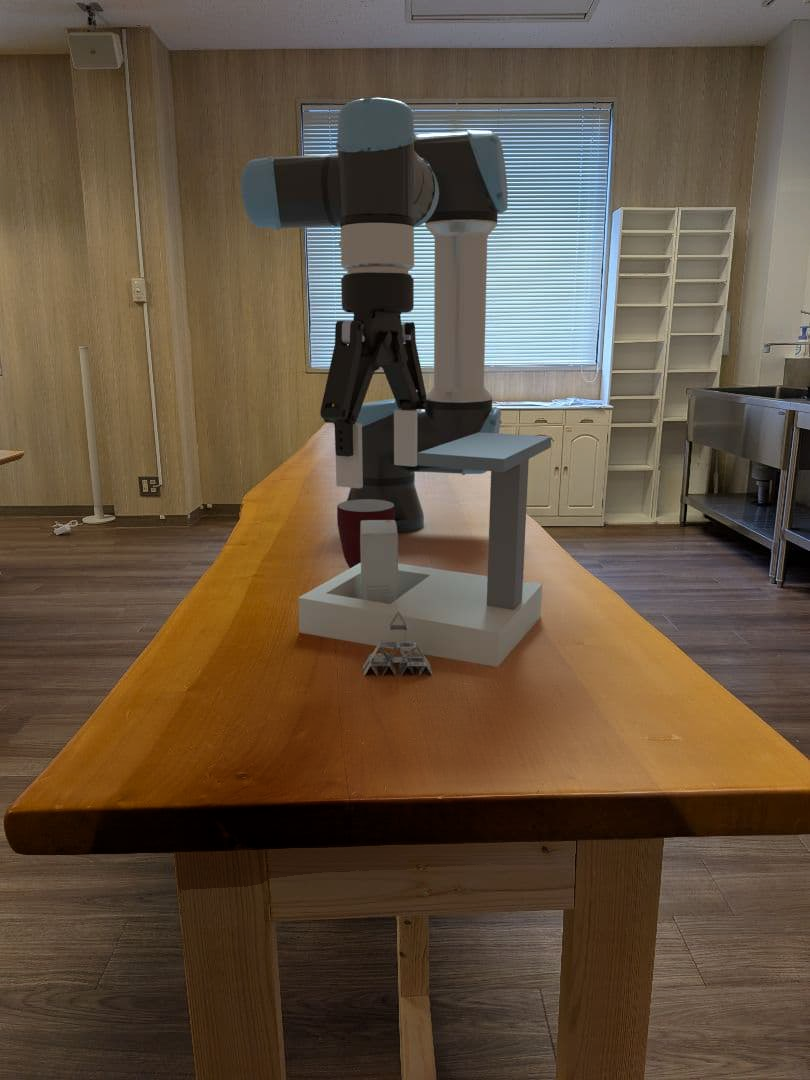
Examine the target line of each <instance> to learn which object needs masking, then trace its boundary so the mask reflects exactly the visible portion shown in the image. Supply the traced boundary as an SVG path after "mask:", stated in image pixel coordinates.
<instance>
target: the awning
mask: <svg viewBox="0 0 810 1080" xmlns="http://www.w3.org/2000/svg"><path fill="white" fill-rule="evenodd" d="M551 447H552V436H549V435H531V434H530V435H529V434H514V433H513V434H512V433H511V434H510V433H499V434H497V433H480V432H478V433H475V434H472V435H469V436H466V437H463V438H460V439H457V440H454V441H451V442H448V443H445V444H442V445H439V446H436V447H433V448H430V449H427V450H424V451H421V452H418V465H420V466H432V467H445V468H457V469H469V470H482V471H487V472H490V487H489V488H490V491H489V492H490V494H489V496H490V497H489V519H488V521H489V523H488V554H487V555H488V556H487V557H488V558H487V576H488V579H487V606H491V607H498V608H504V609H510V610H514V609H515V608H516V607H517V606H518V605H519V604H520V603H521V602H522V591H523V581H524V569H525V568H524V566H525V565H524V563H525V547H526V542H525V541H526V523H527V522H526V521H527V505H528V504H527V503H528V481H529V460H530V459H531V458H533V457H536V456H537V455H539V454H540V453H543V452H545V451H547V450H549V449H551Z"/></svg>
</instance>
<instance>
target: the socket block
mask: <svg viewBox="0 0 810 1080" xmlns="http://www.w3.org/2000/svg"><path fill="white" fill-rule="evenodd" d="M487 579H488V575H481V574H474V573H467V572H460V571H455V570H447V569H446V570H445V569H440V568H433V567H426V566H419V565H411V564H404V563H399V562H398V599H397V600H395V601H394V602H392V603H391V604H386V603H380V602H374V601H368V600H362V594H361V563H359V564H357V565H355V566H354V567H352V568H348V569H347V570H345V571H343V572H341V573H339V574H338V575H335V576H334V577H332V578H330V579H329V580H327V581H326V582H324V583H322V584H320V585H318V586H316V587H315V588H313V589H311V590H309V591H308V592H305V593H304V594H302V595H300V596H298V597H297V599H298V602H297V603H298V605H297V606H298V619H299V620H298V623H299V624H298V625H299V626H298V627H299V629H298V630H299V634H305V635H312V636H318V637H323V638H330V639H334V640H339V641H345V642H351V643H357V644H358V643H359V644H363V645H369V646H373V647H375V646H376V647H377V645H378V644H379V642H416V644H417V646H418V647H419V649H420V651H421V652H422V654H424V655H425V656H426V655H427V656H431V657H432V656H433V657H438V658H442V659H450V660H455V661H462V662H466V663H473V664H480V665H485V666H491V667H496V668H497V667H499V666H500V665H501V664H502V662H503V661H504V660H505V659H506V658H507V657H508V656H509V654H510V653H511V652H512V651H513V650H514V649H515V648H516V646H517V645H518V644H519V643H520V642H521V641H522V639H523V638H524V637H525V636H526V635H527V634H528V633H529V631H530V630H531V629H532V628H533V626H534V625H536V623H537V621H539V619H541V615H542V595H543V593H542V592H543V583H538V582H530V581H524V580H523V591H522V602H521V603H520V604H519V605H518V606H517V607H516V608H515V609H514V610H510V609H504V608H498V607H491V606H487ZM398 611H399V612H400V614H401V616H402V617H403V619H404V621H405V622H406V624H407V625H408V630H389V625H390V623H391V621H392V620H393V618H394V617H395V615H396V613H397V612H398ZM393 625H404V623H403V622H402V620H401V619H400V617H399V615H398V617H397V618H396V620H395V622H394V623H393ZM384 648H386V649H391V650H392V649H393V648H394V647H384ZM411 649H412V648H402V650H403V651H404V652H408V653H409V652H410V650H411ZM397 651H399V649H397ZM413 654H419V652H418V650H417V649H415V650H414V652H413Z"/></svg>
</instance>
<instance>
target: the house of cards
mask: <svg viewBox="0 0 810 1080" xmlns="http://www.w3.org/2000/svg"><path fill="white" fill-rule="evenodd" d="M398 615H399V617H400V619H401V620H402V622H403V623H404V625H393V623H394V622H395V620H396V618H397V617H398ZM389 630H408V625H407V624H406V622H405V621H404V619H403V617H402V616H401V614H400V612H399V611H398V612H397V613H396V615H395V617H394V618H393V620H392V621H391V623H390V625H389ZM385 647H394V648H393V649H391V650H390V652H389V653H387V652H386V650H385V649H384V648H385ZM402 648H412V649H411V650H410V652H409V651H408V653H405V651H403V650H402ZM397 649H399V650H397ZM415 649H417V650H418V652H419V653H414V650H415ZM378 650H380V651H381V653H378V652H377V651H378ZM397 651H399V653H400V655H402V656H395V654H396V652H397ZM396 663H399V665H398V667H399V673H400V677H402V676H403V674H404V672H405V671H406V670H407V668H408V669H409V670H410V672H411V674H412V676H413V677H414V676H415V671H414V669H413V667H417V669H418V675H419V677H420V676H421V674H422V673H423V671H424V670H425V668H427V670H428V671H429V673H430V675H431V676H433V670H432V668H431V664H430V662H429V660H428V659H427V657H426V654H422V652H421V651H420V649H419V647H418V646H417V644H416V642H379V644H378V645H377V646H376V647H375V649H374V650H373V652H372V653H370V654H369V655H368V657H367V659H366V660H365V662H364V663H363V666H362V667H363V668H362V669H363V670H364V671H363V670H362V671H363V676H366V674H367V673H368V670H369V669H370V667H371V669H372V670H373V672H374V673H375V675H376V676H378V666H380V668H381V669H380V670H382V671H381V673H382V677H383V676H384V674H385V673H386V672H387V670H388V668H389V667H390V669H391V671H392V673H393V674H394V676H396V672H397V671H396Z"/></svg>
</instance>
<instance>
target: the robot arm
mask: <svg viewBox="0 0 810 1080" xmlns="http://www.w3.org/2000/svg"><path fill="white" fill-rule="evenodd" d="M337 118H338V119H337V139H336V140H337V141H336V143H335V147H336V151H337V153H324V154H309V155H293V156H292V155H291V156H290V155H289V156H276V157H274V156H267V157H265V158H256V159H254V158H253V159H251V160H249V161H248V162H247V163H246V164H245V165H244V167H243V170H242V173H241V179H240V191H241V199H242V205H243V208H244V210H245V213H246V216H247V218H248V219H249V221H250V222H251V223H252V224H253V225H254V226H255V227H257V228H259V229H277V231H278V230H280V231H281V230H282V229H296V228H297V229H299V228H300V229H301V228H318V227H319V228H322V227H340V241H339V244H338V245H339V248H340V259H341V260H340V261H341V262H340V263H341V264H340V267H341V268H342V269H344V270H346V272H347V273H346V274H343V275H342V278H340V283H341V285H340V286H341V308H342V311H344V312H345V313H350V314H351V313H352V315H353V317H352V320H336V322H335V326H334V327H335V329H334V332H335V333H334V335H335V336H334V347H333V351H332V355H331V356H332V357H331V361H330V365H329V370H328V374H327V378H326V384H325V388H324V393H323V398H322V402H321V406H320V410H319V411H320V412H319V414H320V417H321V418H322V419H323V421H324V423H327V424H333V425H334V449H335V450H334V453H335V478H336V480H335V482H336V484H335V485H336V487H339V488H340V487H341V488H349V489H350V490H349V492H348V495H347V500H346V501H350V500H359V499H376V500H384V501H389V502H391V503H393V504H394V505H395V521H396V525H397V532H398V535H401V534H408V533H413V532H417V531H419V530H421V529H423V528H424V526H425V523H424V522H425V521H424V520H425V519H424V518H425V515H424V511H423V510H424V509H423V508H422V504H421V501H420V498H419V495H418V492H417V488H416V484H415V481H416V480H415V475H416V474H415V473H437V474H438V473H439V474H461V476H465V475H480V474H485V473H487V472H488V471H482V470H469V469H457V468H445V467H432V466H420V465H418V452H421V451H424V450H427V449H430V448H433V447H436V446H439V445H442V444H445V443H448V442H451V441H454V440H457V439H460V438H463V437H466V436H469V435H472V434H475V433H478V432H480V433H497V434H500V429H501V416H502V410H501V409H500V408H499V407H497V406H493V395H492V394H491V393H490V392H489V391H488V390H487V389H486V387H485V358H486V357H485V352H486V350H485V349H486V348H485V347H486V316H487V315H486V311H487V305H486V304H487V275H488V274H487V273H488V272H487V270H488V265H487V264H488V263H487V262H488V261H487V260H488V237H489V235H490V234H491V233H492V232H493V231H494V230H495V229H496V228H497V227H498V216H499V215H498V214H503V213H505V212H506V211H508V210H507V209H508V204H509V203H508V201H509V200H508V179H507V171H506V163H505V156H504V151H503V146H502V142H501V139H500V137H499V136H498V134H497V133H495V132H494V131H491V130H472V129H467V130H457V131H443V132H434V133H433V132H432V133H422V134H421V133H420V134H415V127H414V126H415V124H414V114H413V111H412V108H411V107H410V106H409V105H408V104H406V103H404V102H402V101H400V100H398V99H397V100H396V99H391V98H384V97H383V98H382V97H369V98H359V99H355V100H352V101H349V102H348V103H345V104H344V105H343V106H342V107H341V109H340V110H339V113H338V117H337ZM422 225H425V227H424V228H426V229H427V230H428V232H430V234H431V235H432V236H433V237H434V280H433V281H434V286H433V287H434V289H433V290H434V292H433V293H434V296H433V297H434V301H433V302H434V312H433V313H434V314H433V316H434V317H433V318H434V321H433V324H434V328H433V334H434V336H433V342H434V343H433V346H434V347H433V353H434V354H433V365H434V366H433V388H432V389H431V390H430V391H428V393H427V392H426V387H425V382H424V377H423V374H422V373H423V372H422V368H421V367H422V366H421V362H420V358H419V357H420V356H419V352H418V348H417V341H416V339H417V338H416V323H415V322H414V321H402V319H401V315H402V313H407V314H408V313H411V312H412V311H413V310H414V305H415V304H414V303H415V301H414V300H415V299H414V298H415V295H414V293H415V290H414V289H415V287H414V283H415V281H414V280H415V279H414V278H413V276H412V275H411V274H409V271H410V270H413V268H414V267H415V231H414V230H415V229H414V228H417V227H419V226H422ZM380 368H382V371H383V372H384V375H385V377H386V381H387V383H388V385H389V387H390V391H391V392H392V395H393V398H389V399H382V400H374V401H369V402H364V401H365V398H366V396H367V392H368V390H369V387H370V384H371V382H372V378H373V376H374V373H375V372H376V371H378V370H379V369H380Z"/></svg>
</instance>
